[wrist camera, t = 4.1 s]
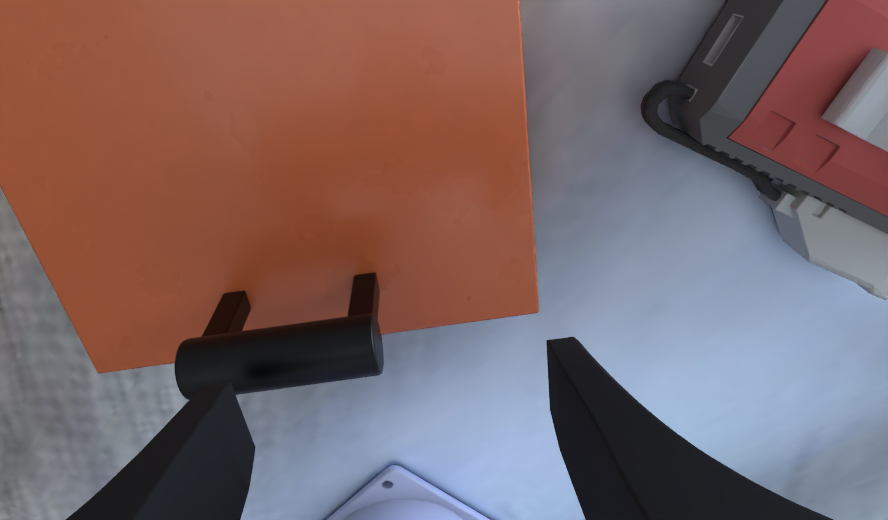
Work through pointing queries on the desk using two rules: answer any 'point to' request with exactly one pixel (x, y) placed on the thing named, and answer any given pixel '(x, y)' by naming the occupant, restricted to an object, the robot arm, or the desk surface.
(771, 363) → the desk surface
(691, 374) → the desk surface
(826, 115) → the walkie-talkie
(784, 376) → the desk surface
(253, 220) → the lid
